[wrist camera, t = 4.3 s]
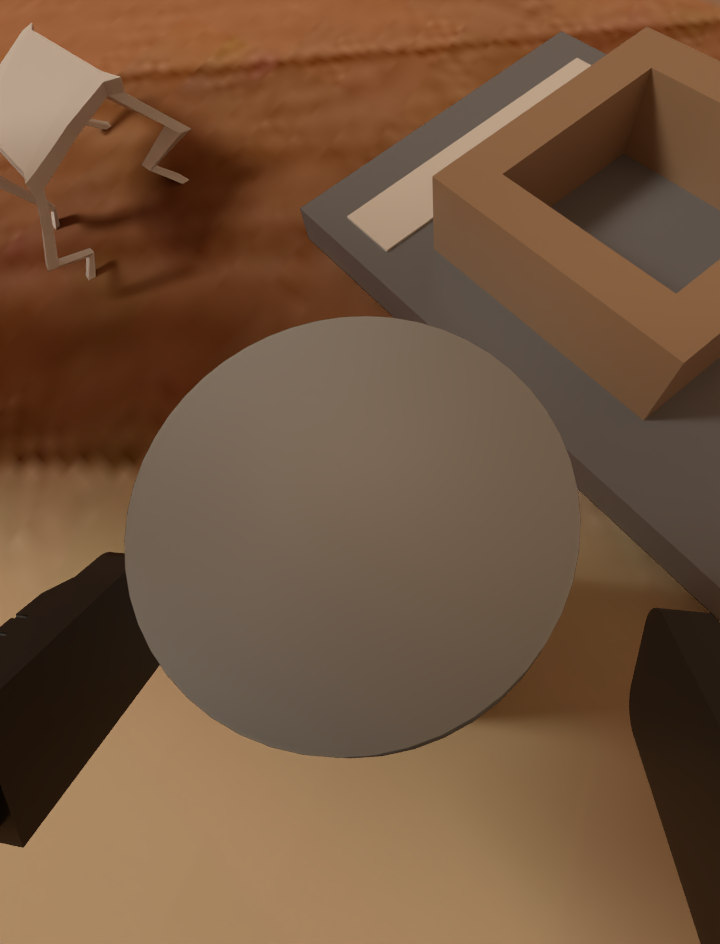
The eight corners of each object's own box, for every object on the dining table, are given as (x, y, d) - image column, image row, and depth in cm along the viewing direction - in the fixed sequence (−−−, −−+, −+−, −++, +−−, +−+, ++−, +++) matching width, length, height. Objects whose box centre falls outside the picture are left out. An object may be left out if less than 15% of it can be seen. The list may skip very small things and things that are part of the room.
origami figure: (239, 216, 24) (193, 105, 20) (67, 308, 24) (-21, 214, 19) (146, 83, 29) (92, -30, 25) (1, 156, 28) (-82, 53, 24)
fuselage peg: (305, 626, 17) (49, 480, 6) (419, 534, 17) (377, 248, 7) (399, 758, 15) (282, 900, 4) (521, 651, 16) (700, 528, 5)
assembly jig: (308, 237, 23) (279, 136, 19) (555, 68, 25) (576, -57, 21) (720, 621, 15) (822, 590, 11) (1031, 332, 17) (1214, 215, 13)
